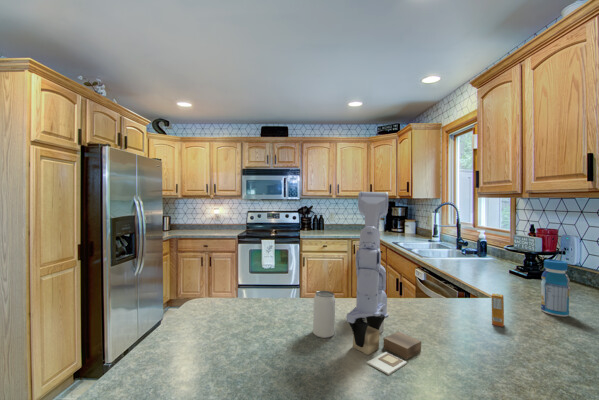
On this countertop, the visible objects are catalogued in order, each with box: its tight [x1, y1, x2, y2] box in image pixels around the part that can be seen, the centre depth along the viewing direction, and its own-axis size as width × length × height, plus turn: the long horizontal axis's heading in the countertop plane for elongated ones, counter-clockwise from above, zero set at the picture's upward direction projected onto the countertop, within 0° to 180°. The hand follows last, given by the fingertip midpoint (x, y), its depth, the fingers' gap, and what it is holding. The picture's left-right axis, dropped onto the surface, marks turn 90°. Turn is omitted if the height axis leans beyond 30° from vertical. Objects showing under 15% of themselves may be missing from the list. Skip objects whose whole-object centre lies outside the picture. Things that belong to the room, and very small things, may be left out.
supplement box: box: [491, 293, 505, 328], centre depth 97 cm, size 3×3×10 cm
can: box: [312, 290, 336, 339], centre depth 86 cm, size 6×6×12 cm
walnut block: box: [383, 331, 422, 360], centre depth 78 cm, size 7×7×3 cm
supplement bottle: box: [540, 259, 571, 317], centre depth 110 cm, size 8×8×20 cm
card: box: [366, 351, 407, 376], centre depth 70 cm, size 8×6×1 cm
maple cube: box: [352, 326, 380, 356], centre depth 78 cm, size 5×5×5 cm
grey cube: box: [364, 318, 385, 334], centre depth 89 cm, size 4×4×4 cm
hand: (365, 342), depth 78 cm, fingers closed on maple cube, 5 cm apart
